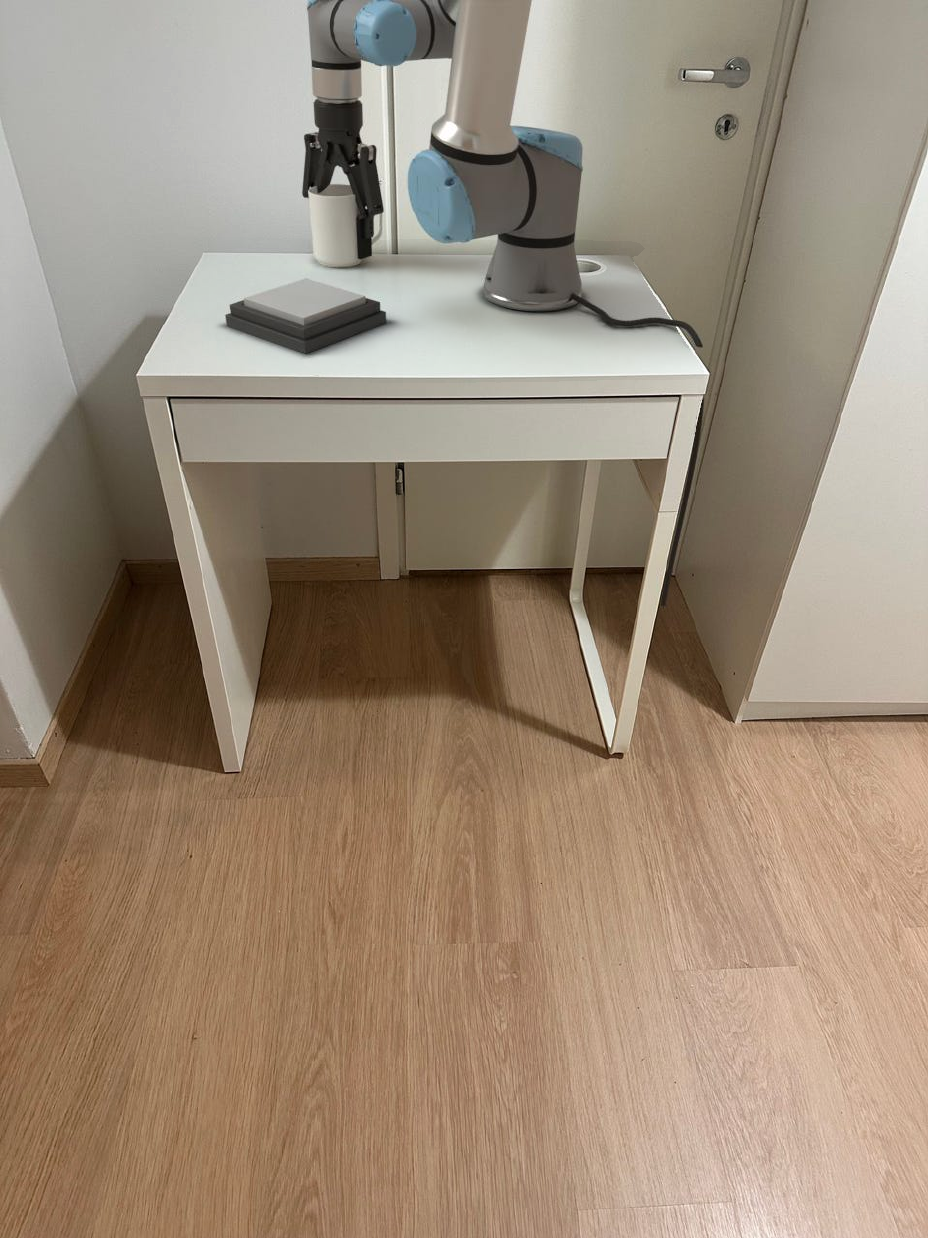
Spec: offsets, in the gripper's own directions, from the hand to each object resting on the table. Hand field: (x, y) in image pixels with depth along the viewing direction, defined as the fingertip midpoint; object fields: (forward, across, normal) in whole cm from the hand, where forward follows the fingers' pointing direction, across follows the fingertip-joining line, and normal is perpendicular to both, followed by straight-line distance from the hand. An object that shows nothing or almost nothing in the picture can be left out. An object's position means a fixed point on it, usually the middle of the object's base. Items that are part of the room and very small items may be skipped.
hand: (344, 250), depth 150 cm
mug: (+2, -1, 0) cm, 2 cm away
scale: (+1, -18, +26) cm, 32 cm away
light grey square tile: (-2, -18, +26) cm, 32 cm away
